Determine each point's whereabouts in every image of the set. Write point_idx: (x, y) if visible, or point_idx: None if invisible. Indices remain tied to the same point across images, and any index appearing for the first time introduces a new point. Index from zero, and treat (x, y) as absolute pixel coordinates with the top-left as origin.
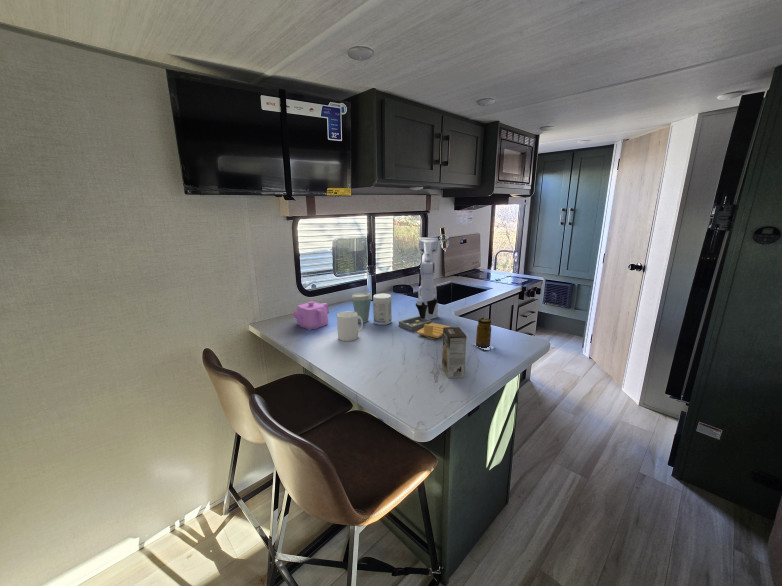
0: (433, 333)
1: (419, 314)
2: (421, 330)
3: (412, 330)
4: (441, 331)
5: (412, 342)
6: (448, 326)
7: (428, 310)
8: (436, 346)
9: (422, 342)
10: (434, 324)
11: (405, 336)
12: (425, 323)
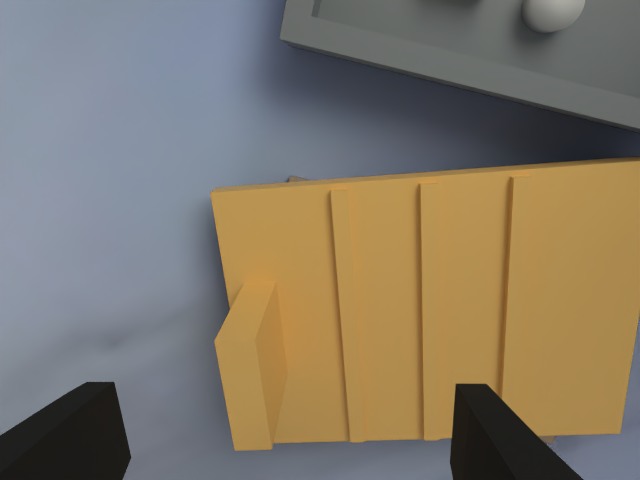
0: (296, 375)
1: (6, 435)
2: (285, 218)
3: (302, 48)
4: (407, 413)
5: (47, 250)
6: (613, 406)
7: (483, 436)
8: (146, 455)
9: (123, 326)
10: (602, 237)
11: (109, 81)
12: (571, 111)
